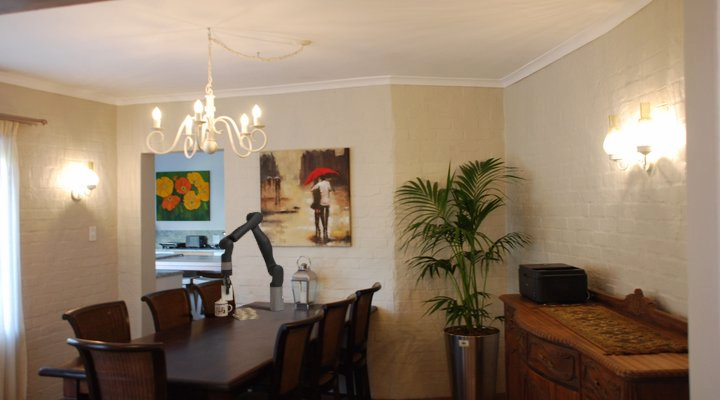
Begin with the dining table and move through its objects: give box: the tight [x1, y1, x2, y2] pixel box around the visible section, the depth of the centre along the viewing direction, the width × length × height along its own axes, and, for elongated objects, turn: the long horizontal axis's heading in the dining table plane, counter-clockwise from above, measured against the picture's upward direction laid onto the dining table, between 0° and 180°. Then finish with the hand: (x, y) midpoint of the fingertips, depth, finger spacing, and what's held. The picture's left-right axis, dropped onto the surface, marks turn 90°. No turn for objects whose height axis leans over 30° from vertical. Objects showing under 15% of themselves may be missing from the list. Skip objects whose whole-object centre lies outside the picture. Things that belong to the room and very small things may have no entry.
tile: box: [220, 284, 234, 302], centre depth 382 cm, size 7×2×10 cm, turn 116°
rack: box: [232, 307, 260, 321], centre depth 385 cm, size 14×17×5 cm
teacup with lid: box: [214, 298, 233, 317], centre depth 394 cm, size 12×9×12 cm
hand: (227, 294), depth 382 cm, fingers closed on tile, 2 cm apart
